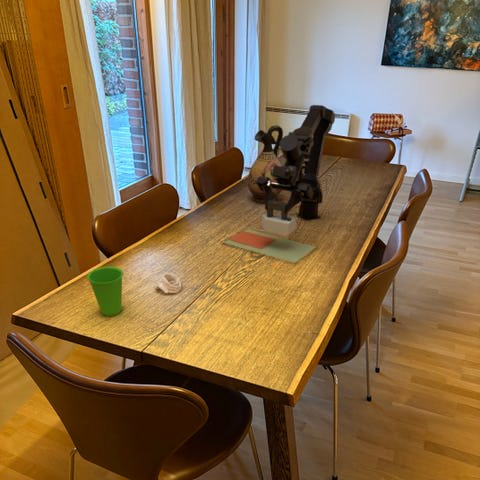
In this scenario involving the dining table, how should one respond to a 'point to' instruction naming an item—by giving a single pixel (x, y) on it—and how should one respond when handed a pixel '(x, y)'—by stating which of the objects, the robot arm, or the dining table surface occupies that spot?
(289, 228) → the iron
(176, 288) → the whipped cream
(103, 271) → the cup
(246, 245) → the ironing mat
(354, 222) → the dining table surface
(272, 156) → the ceramic jug
